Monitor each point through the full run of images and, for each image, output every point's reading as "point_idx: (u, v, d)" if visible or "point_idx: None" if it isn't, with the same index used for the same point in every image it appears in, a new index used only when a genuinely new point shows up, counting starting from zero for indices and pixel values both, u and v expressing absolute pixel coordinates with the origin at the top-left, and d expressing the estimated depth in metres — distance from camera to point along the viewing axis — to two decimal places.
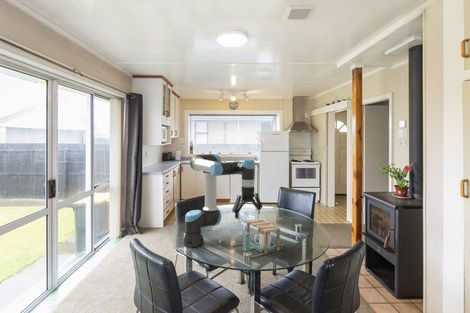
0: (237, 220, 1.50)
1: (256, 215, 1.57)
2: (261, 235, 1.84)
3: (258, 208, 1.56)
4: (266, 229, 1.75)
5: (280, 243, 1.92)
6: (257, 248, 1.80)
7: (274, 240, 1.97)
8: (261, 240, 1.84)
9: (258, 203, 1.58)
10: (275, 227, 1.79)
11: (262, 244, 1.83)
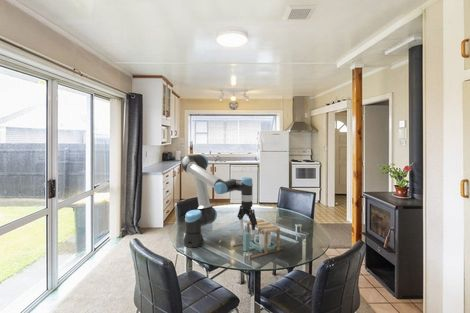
0: None
1: None
2: (261, 235, 1.84)
3: (251, 223, 1.71)
4: (266, 229, 1.75)
5: (280, 243, 1.92)
6: (257, 248, 1.80)
7: (274, 240, 1.97)
8: (261, 240, 1.84)
9: None
10: (275, 227, 1.79)
11: (262, 244, 1.83)
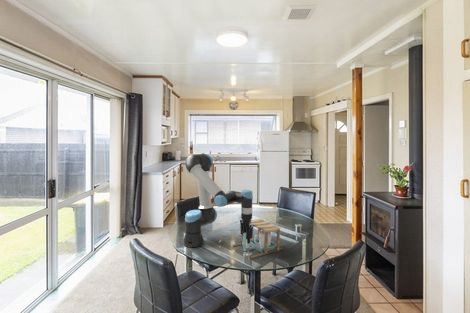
0: None
1: None
2: (261, 235, 1.84)
3: None
4: (266, 229, 1.75)
5: (280, 243, 1.92)
6: (257, 248, 1.80)
7: (274, 240, 1.97)
8: (261, 240, 1.84)
9: None
10: (275, 227, 1.79)
11: (262, 244, 1.83)
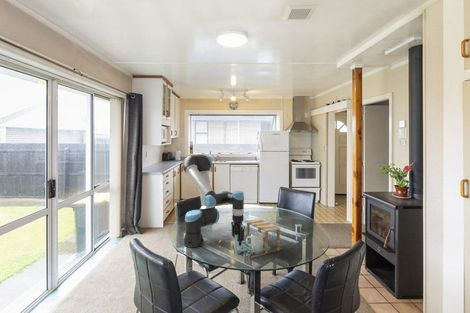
0: None
1: None
2: (253, 237, 1.80)
3: (238, 239, 1.72)
4: (266, 229, 1.75)
5: (280, 243, 1.92)
6: (249, 250, 1.76)
7: (274, 240, 1.97)
8: (253, 242, 1.81)
9: None
10: (275, 227, 1.79)
11: (254, 246, 1.80)
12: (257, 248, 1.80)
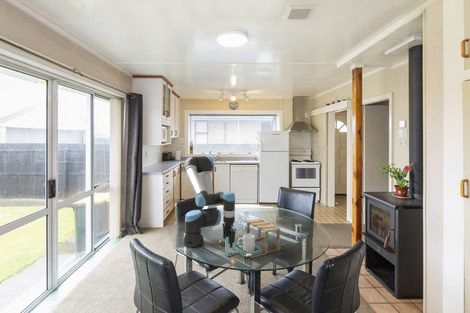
0: None
1: None
2: (244, 238, 1.77)
3: (229, 241, 1.69)
4: (266, 229, 1.75)
5: (280, 243, 1.92)
6: (240, 253, 1.72)
7: (274, 240, 1.97)
8: (244, 243, 1.77)
9: None
10: (275, 227, 1.79)
11: (245, 248, 1.77)
12: (248, 250, 1.76)
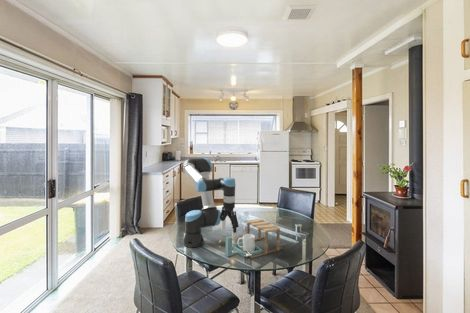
0: None
1: None
2: (244, 238, 1.77)
3: None
4: (266, 229, 1.75)
5: (280, 243, 1.92)
6: (240, 253, 1.72)
7: (274, 240, 1.97)
8: (244, 244, 1.77)
9: None
10: (275, 227, 1.79)
11: (245, 248, 1.77)
12: (248, 250, 1.76)
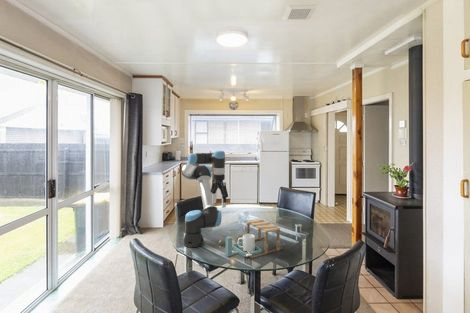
0: None
1: None
2: (244, 238, 1.77)
3: (222, 196, 1.70)
4: (266, 229, 1.75)
5: (280, 243, 1.92)
6: (240, 253, 1.72)
7: (274, 240, 1.97)
8: (244, 244, 1.77)
9: None
10: (275, 227, 1.79)
11: (245, 248, 1.77)
12: (248, 250, 1.76)
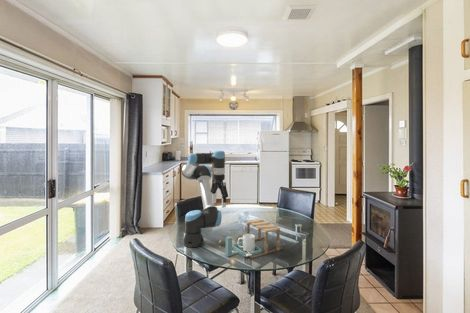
0: None
1: None
2: (244, 238, 1.77)
3: (222, 196, 1.70)
4: (266, 229, 1.75)
5: (280, 243, 1.92)
6: (240, 253, 1.72)
7: (274, 240, 1.97)
8: (244, 244, 1.77)
9: None
10: (275, 227, 1.79)
11: (245, 248, 1.77)
12: (248, 250, 1.76)
